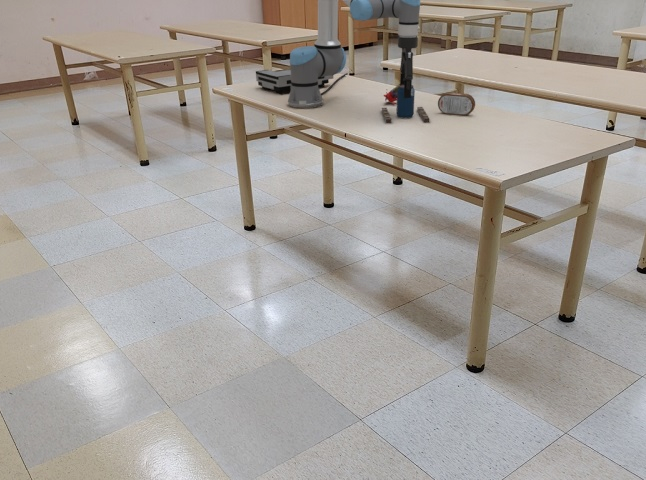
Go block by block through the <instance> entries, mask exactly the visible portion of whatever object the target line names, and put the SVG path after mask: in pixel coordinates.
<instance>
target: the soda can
mask: <svg viewBox="0 0 646 480" xmlns="http://www.w3.org/2000/svg"><path fill="white" fill-rule="evenodd" d="M398 85H399V84H398ZM415 92H416V90H415V88H414V85H413V84H412V86H411V98H404V85H399V88H398V90H397V101H396V112H395V113H396V116H397V118H399V119H411V118H412V117H413V116H414V113H415V111H414V110H415V94H416V93H415Z"/></svg>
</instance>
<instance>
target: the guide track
mask: <svg viewBox="0 0 646 480" xmlns="http://www.w3.org/2000/svg"><path fill="white" fill-rule="evenodd" d="M416 111H417V112H418V114H419V116H420V118H421V119H422V121H423V123H430V117H429V115H428V114H427V112H426V111H425V109H424V107H423V106H417V109H416ZM381 114H382V117H383V119H384V121H385V124H392V118H391V115H390V112H389V110H388V107H381Z"/></svg>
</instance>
